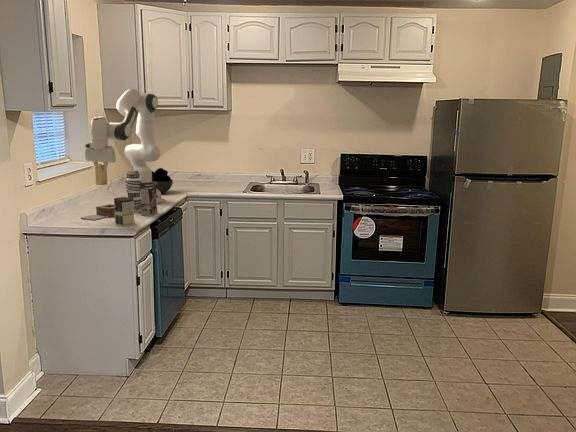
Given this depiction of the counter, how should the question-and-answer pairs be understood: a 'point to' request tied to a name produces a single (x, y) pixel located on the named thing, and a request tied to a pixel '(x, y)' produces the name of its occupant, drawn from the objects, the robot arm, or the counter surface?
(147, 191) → the coffee box
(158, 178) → the coal bowl
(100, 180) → the wooden square peg
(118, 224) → the coffee can
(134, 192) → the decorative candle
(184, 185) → the counter surface
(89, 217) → the rubber mat
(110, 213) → the socket block
